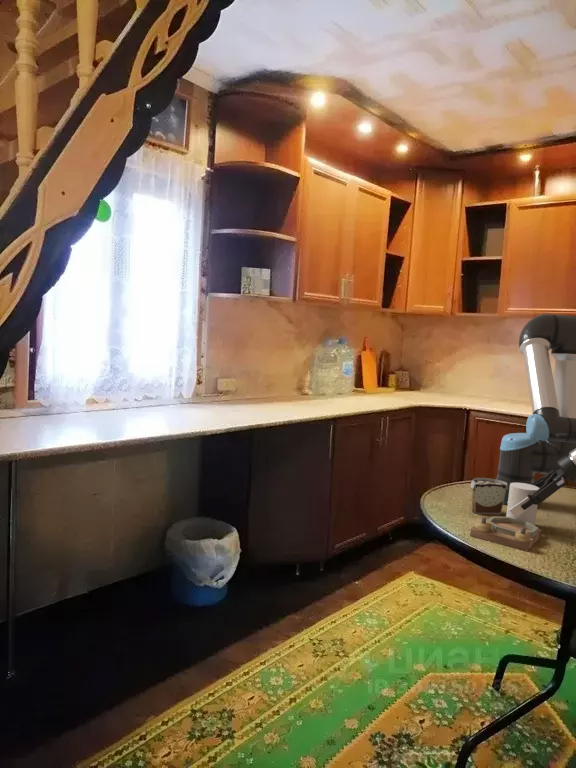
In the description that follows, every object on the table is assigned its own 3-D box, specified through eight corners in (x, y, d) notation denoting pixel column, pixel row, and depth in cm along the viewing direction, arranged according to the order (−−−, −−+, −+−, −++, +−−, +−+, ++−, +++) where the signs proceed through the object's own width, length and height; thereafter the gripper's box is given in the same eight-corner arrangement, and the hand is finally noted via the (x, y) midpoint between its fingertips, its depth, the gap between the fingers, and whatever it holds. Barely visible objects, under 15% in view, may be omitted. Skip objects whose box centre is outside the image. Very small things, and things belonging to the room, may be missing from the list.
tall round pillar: (510, 519, 178) (515, 481, 177) (538, 526, 173) (543, 487, 172) (501, 524, 172) (506, 485, 171) (529, 532, 167) (534, 491, 166)
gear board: (487, 522, 173) (489, 505, 172) (540, 536, 164) (543, 518, 164) (470, 535, 160) (472, 517, 159) (527, 551, 151) (529, 531, 151)
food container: (493, 507, 190) (497, 477, 189) (505, 513, 184) (508, 482, 183) (460, 507, 187) (463, 477, 186) (470, 513, 181) (473, 482, 180)
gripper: (593, 482, 156) (522, 529, 162) (579, 468, 177) (517, 511, 182) (573, 460, 157) (504, 508, 163) (562, 449, 178) (501, 492, 184)
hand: (511, 509), depth 173 cm, fingers open, 9 cm apart
